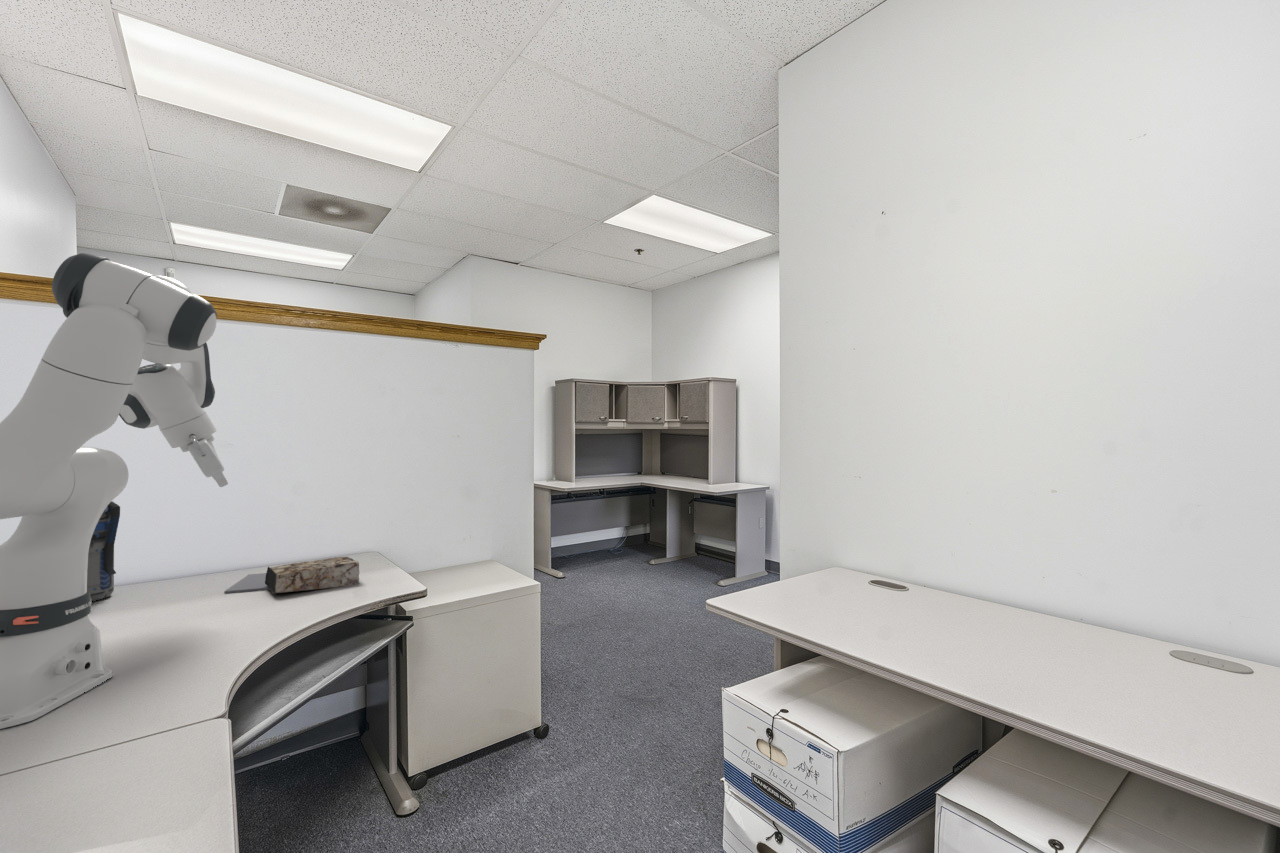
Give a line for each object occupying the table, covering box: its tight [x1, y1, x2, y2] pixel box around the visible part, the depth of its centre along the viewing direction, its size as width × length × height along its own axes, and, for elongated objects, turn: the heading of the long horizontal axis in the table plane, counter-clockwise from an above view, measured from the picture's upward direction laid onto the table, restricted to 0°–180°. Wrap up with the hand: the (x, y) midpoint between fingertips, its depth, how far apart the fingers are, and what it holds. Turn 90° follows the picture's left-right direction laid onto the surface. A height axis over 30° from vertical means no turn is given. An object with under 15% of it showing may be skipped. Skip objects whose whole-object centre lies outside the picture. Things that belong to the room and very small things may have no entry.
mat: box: [223, 572, 270, 594], centre depth 152 cm, size 18×18×1 cm
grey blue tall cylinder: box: [87, 500, 121, 603], centre depth 136 cm, size 10×13×25 cm
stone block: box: [265, 556, 360, 595], centre depth 148 cm, size 13×7×20 cm
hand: (224, 484), depth 128 cm, fingers closed
